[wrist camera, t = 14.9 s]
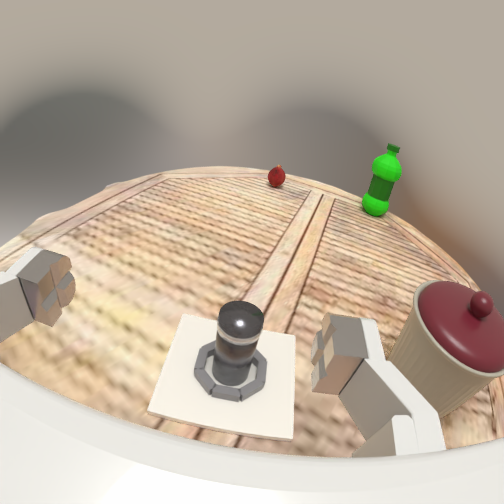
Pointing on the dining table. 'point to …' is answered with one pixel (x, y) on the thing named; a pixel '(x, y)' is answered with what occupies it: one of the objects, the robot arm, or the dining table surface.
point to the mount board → (227, 397)
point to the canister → (450, 344)
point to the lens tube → (236, 341)
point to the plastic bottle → (382, 182)
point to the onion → (276, 176)
